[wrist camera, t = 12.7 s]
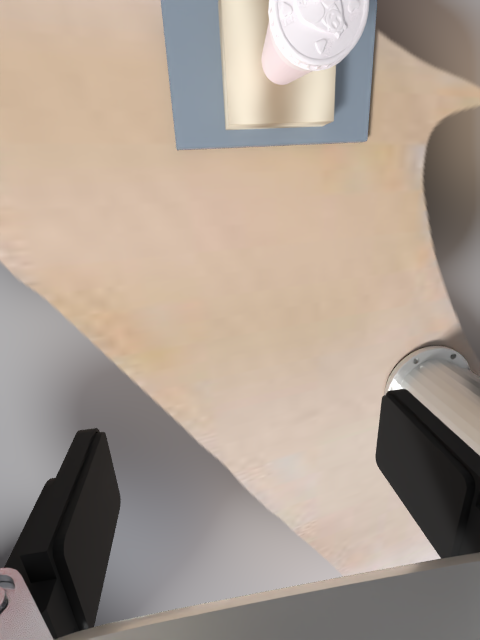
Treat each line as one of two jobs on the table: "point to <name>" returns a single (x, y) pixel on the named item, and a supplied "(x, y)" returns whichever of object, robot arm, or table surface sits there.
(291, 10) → the smoothie
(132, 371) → the table surface
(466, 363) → the robot arm
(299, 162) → the table surface
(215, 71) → the board
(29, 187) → the table surface
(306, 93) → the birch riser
